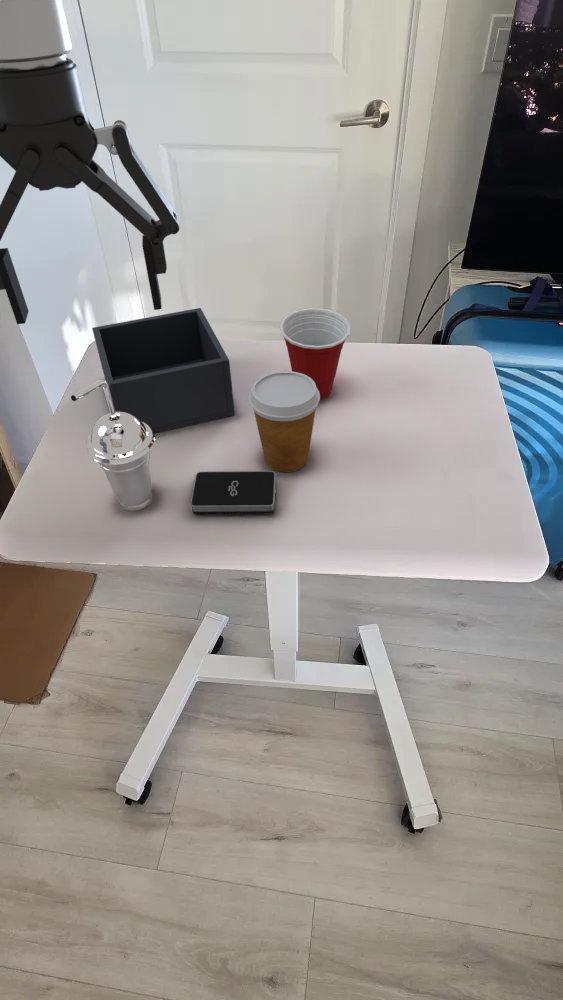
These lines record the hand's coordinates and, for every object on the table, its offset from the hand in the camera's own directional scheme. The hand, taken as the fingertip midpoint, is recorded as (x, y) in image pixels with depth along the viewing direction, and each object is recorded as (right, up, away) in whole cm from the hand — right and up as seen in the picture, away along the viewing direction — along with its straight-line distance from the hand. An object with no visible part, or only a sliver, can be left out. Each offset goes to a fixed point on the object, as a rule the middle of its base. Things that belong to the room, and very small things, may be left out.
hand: (91, 311), depth 64 cm
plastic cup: (+25, -2, +39) cm, 47 cm away
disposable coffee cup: (+20, -14, +27) cm, 36 cm away
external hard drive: (+13, -19, +21) cm, 31 cm away
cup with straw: (-1, -20, +21) cm, 29 cm away
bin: (+1, -2, +39) cm, 39 cm away
